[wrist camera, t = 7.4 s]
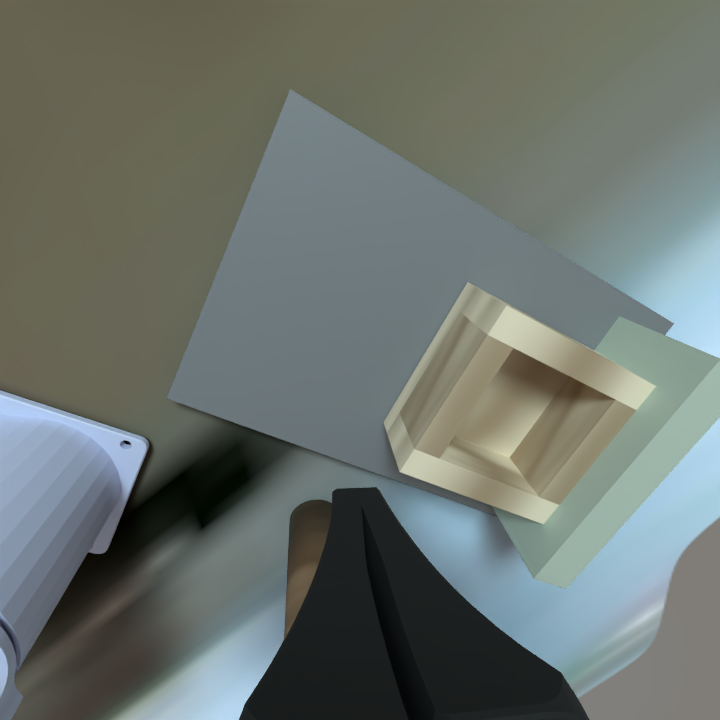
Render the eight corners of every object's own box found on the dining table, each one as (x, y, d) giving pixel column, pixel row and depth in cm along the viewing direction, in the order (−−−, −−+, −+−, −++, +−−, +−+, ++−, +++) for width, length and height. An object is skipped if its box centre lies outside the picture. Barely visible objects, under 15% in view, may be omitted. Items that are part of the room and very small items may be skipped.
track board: (173, 388, 20) (118, 473, 14) (291, 94, 16) (282, 42, 10) (508, 511, 26) (569, 607, 20) (658, 317, 22) (788, 367, 16)
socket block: (383, 422, 21) (399, 472, 18) (467, 281, 19) (506, 305, 15) (506, 471, 23) (543, 524, 20) (595, 351, 21) (656, 386, 17)
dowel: (281, 531, 25) (269, 705, 16) (302, 493, 24) (301, 657, 16) (327, 544, 25) (337, 717, 17) (349, 508, 25) (371, 672, 16)
